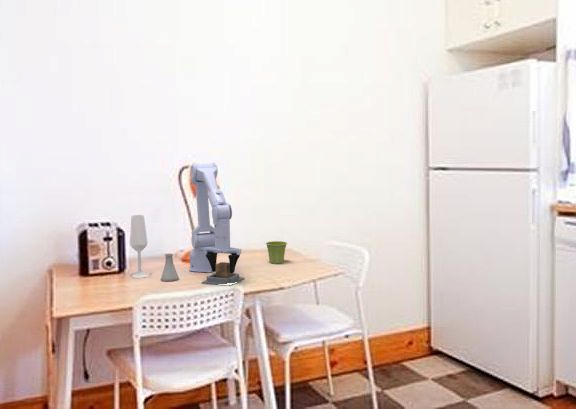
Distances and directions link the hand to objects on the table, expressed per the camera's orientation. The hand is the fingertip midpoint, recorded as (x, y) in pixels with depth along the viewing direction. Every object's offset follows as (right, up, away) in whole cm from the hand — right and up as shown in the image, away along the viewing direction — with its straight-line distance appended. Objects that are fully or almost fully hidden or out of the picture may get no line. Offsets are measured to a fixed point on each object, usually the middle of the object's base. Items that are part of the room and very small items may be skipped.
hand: (223, 272), depth 214 cm
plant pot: (+19, 0, +34) cm, 40 cm away
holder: (0, -3, 0) cm, 3 cm away
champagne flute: (-34, -3, +11) cm, 36 cm away
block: (0, -3, +1) cm, 3 cm away
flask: (-21, -4, +4) cm, 22 cm away
